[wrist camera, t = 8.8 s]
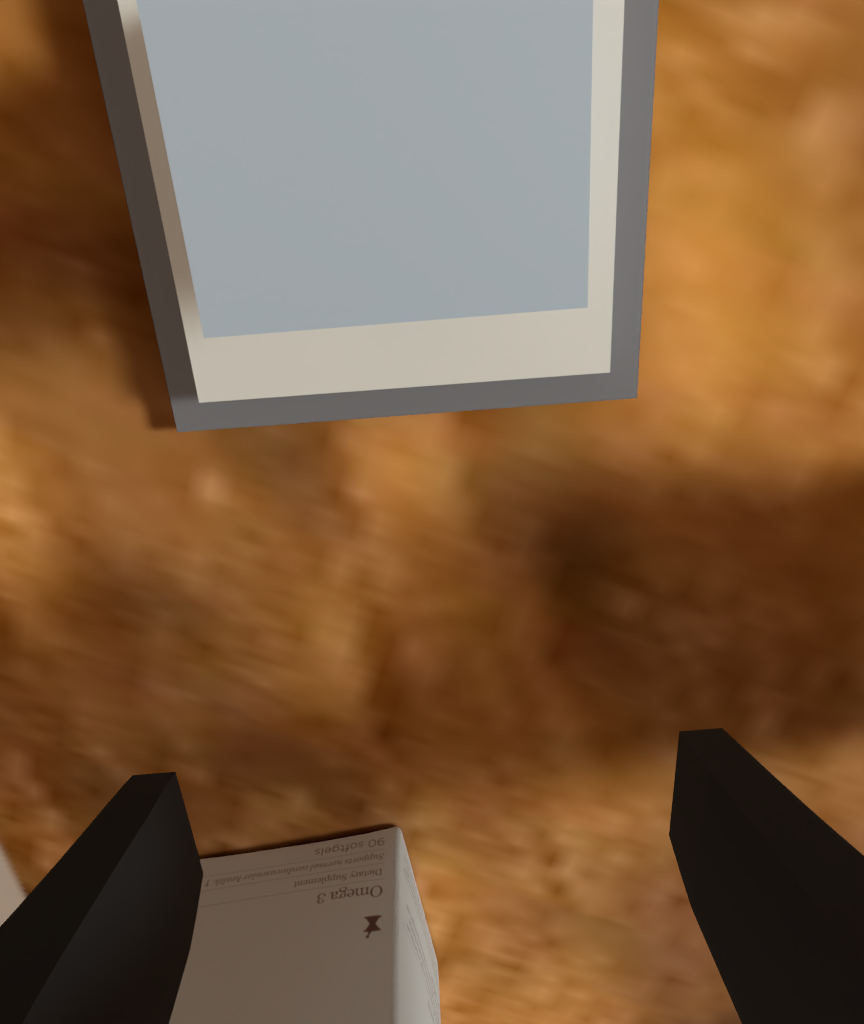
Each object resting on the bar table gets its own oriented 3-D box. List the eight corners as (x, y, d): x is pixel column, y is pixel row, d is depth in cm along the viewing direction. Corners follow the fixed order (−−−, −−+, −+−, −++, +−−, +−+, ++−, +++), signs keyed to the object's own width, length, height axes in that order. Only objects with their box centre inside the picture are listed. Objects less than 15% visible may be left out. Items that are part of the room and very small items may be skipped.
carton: (495, 240, 15) (587, 307, 8) (297, 256, 15) (204, 338, 8) (486, -29, 13) (597, -278, 6) (259, -13, 13) (88, -241, 6)
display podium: (627, 389, 18) (652, 412, 17) (186, 421, 18) (163, 449, 17) (659, -257, 13) (700, -324, 12) (49, -219, 13) (-6, -280, 11)
